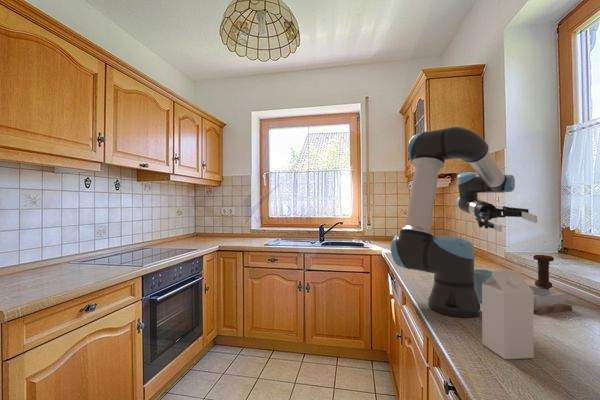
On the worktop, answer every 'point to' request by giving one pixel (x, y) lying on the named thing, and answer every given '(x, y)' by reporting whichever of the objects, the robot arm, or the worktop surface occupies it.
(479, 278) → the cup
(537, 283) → the bolt
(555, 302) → the hinge base
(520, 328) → the milk carton
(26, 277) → the worktop surface
